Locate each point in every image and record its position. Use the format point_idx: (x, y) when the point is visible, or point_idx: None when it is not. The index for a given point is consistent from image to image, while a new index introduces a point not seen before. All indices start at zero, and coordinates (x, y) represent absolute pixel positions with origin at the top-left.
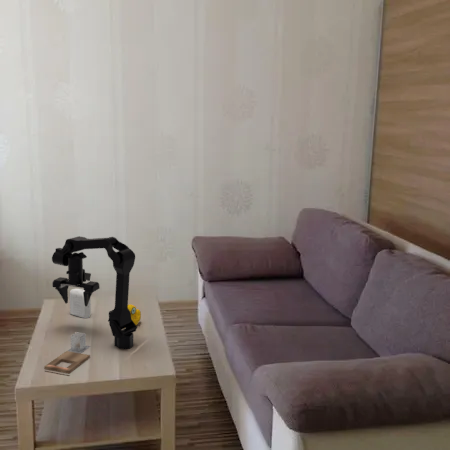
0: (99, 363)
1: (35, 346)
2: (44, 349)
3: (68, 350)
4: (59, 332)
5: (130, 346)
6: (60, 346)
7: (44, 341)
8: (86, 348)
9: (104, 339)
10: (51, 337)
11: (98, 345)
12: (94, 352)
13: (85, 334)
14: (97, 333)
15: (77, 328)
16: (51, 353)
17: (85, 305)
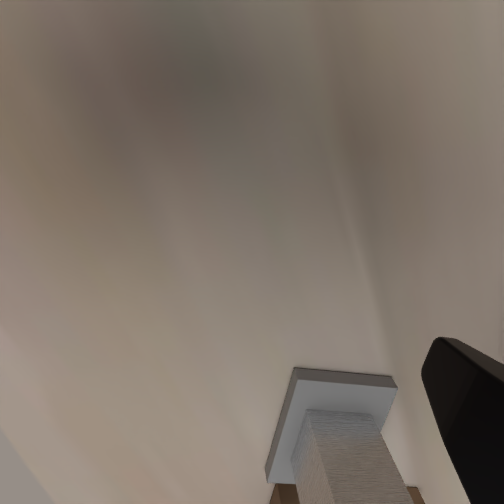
0: (469, 501)
1: (13, 428)
2: (101, 447)
3: (275, 465)
4: (26, 157)
5: None
6: (181, 391)
7: (20, 349)
8: (378, 419)
9: (460, 219)
10: (25, 274)
11: (431, 322)
12: (423, 411)
13: (411, 498)
14: (382, 108)
15: (148, 14)
16: (174, 477)
17: (438, 400)
